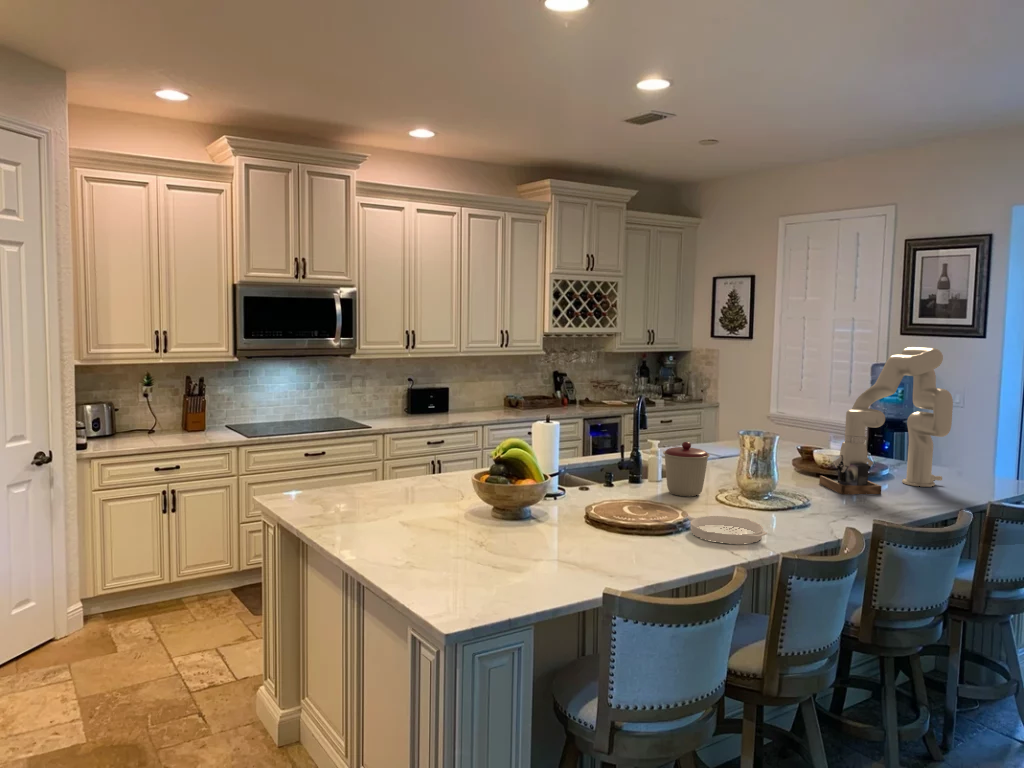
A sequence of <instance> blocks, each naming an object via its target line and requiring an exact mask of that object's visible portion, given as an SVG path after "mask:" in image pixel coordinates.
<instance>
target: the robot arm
mask: <svg viewBox="0 0 1024 768" xmlns="http://www.w3.org/2000/svg"><path fill="white" fill-rule="evenodd" d="M943 360H944V355H943V352H942V351H940V349H938V348H936V347H935V348H934V347H921V346H920V347H919V346H917V347H916V346H911V347H910V346H908V347H906V348H904V349H903V350H902V351H901V354H893V355H891V356H890V357H888V359H887V360H886V362H885V364H884V366H883V367H882V370H881V371H880V373H879V375H878V377H877V379H876V381H875V383H874V384H873V385H872V386H870V387H869V388H867V389H866V390H865V391H863V392H862V393H860V395H858V397H857V399H856V400H855V402H854V403H853V404H852V405H853V406H852V407H851V409H847V411H846V412H845V413H846V414H845V429H844V431H845V432H844V441H842V443H841V446H840V447H841V448H840V449H839V451H840V453H839V457H838V458H837V459H835V460H833V462H832V463H833V464H834V466H835V468H836V469H837V471H838V470H839V471H840V476H839V478H840V481H842V482H845V476H846V473H845V472H844V471H845V470H846V468H847V467H849V466H850V464H855V463H865V464H869V467H868V471H869V470H870V469H871V467H872V466H873V465H874V461H872V460H871V459H870V458H868V450H867V444H866V441H868V436H866V428H873V429H874V428H879V427H882V426H883V425H884V424H885V422H886V416H885V413H884V412H882V411H881V410H878V409H874V408H870V407H871V405H873V404H874V403H875V402H876V401H879V400H881V399H883V398H887V397H889V396H892V395H894V394H895V393H896V392H897V390H898V387H899V386H900V385H901V383H902V380H903V378H904V377H905V376H909V377H912V378H913V383H912V384H913V385H912V386H913V387H912V403H913V404H912V405H913V406H915V408H917V409H923V410H928V411H929V410H930V411H933V412H928V411H914V412H912V413H910V414H909V416H908V417H907V420H906V421H907V422H906V424H907V426H906V427H907V432H908V447H907V448H908V449H907V463H906V464H907V465H906V478H903V479H902V480H901V483H902V484H905V485H908V486H912V487H919V486H920V488H921V487H922V488H932V486H933V487H935V486H936V482H935V481H943V476H941V475H935V474H932V473H933V472H932V468H933V457H934V456H933V455H934V441H933V439H932V437H937V438H942V437H946V436H947V435H948V434H950V432H951V429H952V421H953V408H954V399H953V396H952V394H951V392H950V391H949V390H947V389H945V388H938V387H937V384H936V382H937V376H936V372H935V370H936V369H937V368H939V366H941V365H942V362H943ZM841 461H842V462H843V463H841ZM839 464H840V465H841V464H842V465H841V466H839Z"/></svg>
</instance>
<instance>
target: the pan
mask: <svg viewBox="0 0 1024 768" xmlns="http://www.w3.org/2000/svg"><path fill="white" fill-rule="evenodd" d="M686 516H687V517H688V519H689V520H688V521H690V526H691V527H690V528H691V529H690V530H691V534H692V533H693V534H694V535H695V537H696V536H697V537H696V538H698V537H700V538H702V539H706V540H711V541H716V542H723V543H731V544H744V543H752V544H754V543H753V542H756V543H758V542H760V541H761V540H762V537H763V536H765V535H767V534H768V532H766V530H764V527H763V526H762V525H761V524H760V523H758V522H756V521H753V520H750V519H748V518H742V517H735V516H724V515H707V516H705V515H704V516H699V517H692V516H688V515H686ZM705 525H724V526H733V527H732V528H734V527H739V528H738V529H740V528H744V529H747V530H751V531H753V532H755V533H753V534H742V535H739V534H738V535H736V534H733V533H732V534H722V533H715V532H707V531H704V530H702V529H700V528H697V527H699V526H705ZM723 528H725V527H723ZM726 528H727V527H726ZM732 528H729V530H730V529H732ZM720 529H722V528H720ZM726 530H728V529H726ZM735 530H737V529H735ZM724 531H725V530H724ZM732 531H734V530H732ZM741 531H742V530H741ZM729 532H731V531H729ZM735 533H737V532H735ZM693 534H692V535H693ZM694 535H693V536H694ZM700 538H699V539H700ZM702 539H701V540H702ZM706 540H705V541H706ZM759 540H760V541H759ZM757 541H758V542H757ZM731 544H730V545H731ZM744 545H745V544H744Z"/></svg>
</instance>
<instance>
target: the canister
mask: <svg viewBox="0 0 1024 768" xmlns="http://www.w3.org/2000/svg"><path fill="white" fill-rule="evenodd" d="M662 454H663V455H664V463H665V466H664V467H665V478H666V486H667V489H668V492H669V493H670V494H671V495H674V496H678V495H680V496H679V497H696V495H697V496H699V495H700V494H701V493H702V491H703V488H704V483H705V478H706V472H707V465H708V458H709V457H710V454H709V453H708V452H707V451H706V450H703V449H700V448H696V447H692V444H691V442H689V441H683V442H682V444H681V446H679V447H677V446H676V447H675V446H674V447H669V448H667V449H666V450H664V451H663V452H662Z"/></svg>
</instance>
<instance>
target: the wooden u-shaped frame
mask: <svg viewBox="0 0 1024 768" xmlns="http://www.w3.org/2000/svg"><path fill="white" fill-rule="evenodd" d="M819 485H821V486H824V487H826V488H827V489H830V490H831V489H832V491H834V492H836V493H837V494H840V495H854V494H881V495H882V485H879V484H878V483H875V482H872V481H870V480H868V486H859V485H842V484H840V483H838V481H836V480H833V479H831V478H829V477H827V476H823V475H819Z"/></svg>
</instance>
